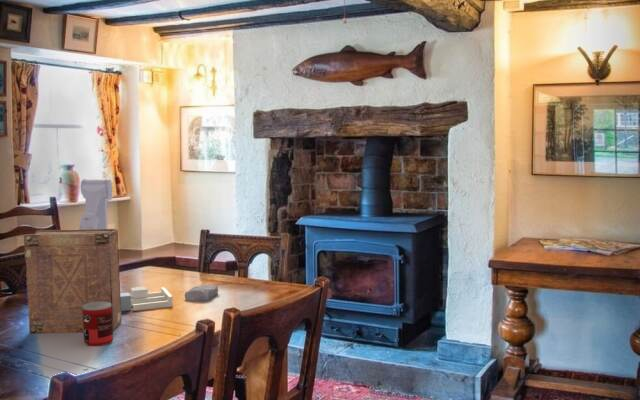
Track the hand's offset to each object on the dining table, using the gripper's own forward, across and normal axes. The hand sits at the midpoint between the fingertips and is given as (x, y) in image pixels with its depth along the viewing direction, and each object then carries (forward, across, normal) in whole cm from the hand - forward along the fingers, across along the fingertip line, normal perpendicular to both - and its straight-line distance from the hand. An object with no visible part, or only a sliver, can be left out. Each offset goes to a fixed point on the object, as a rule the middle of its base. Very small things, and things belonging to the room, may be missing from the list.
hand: (89, 308), depth 221 cm
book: (+2, -5, -17) cm, 17 cm away
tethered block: (+2, +6, 0) cm, 6 cm away
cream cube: (+2, +17, +7) cm, 19 cm away
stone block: (+2, +39, +5) cm, 39 cm away
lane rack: (+2, +20, +4) cm, 20 cm away
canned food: (+2, 0, -35) cm, 35 cm away
